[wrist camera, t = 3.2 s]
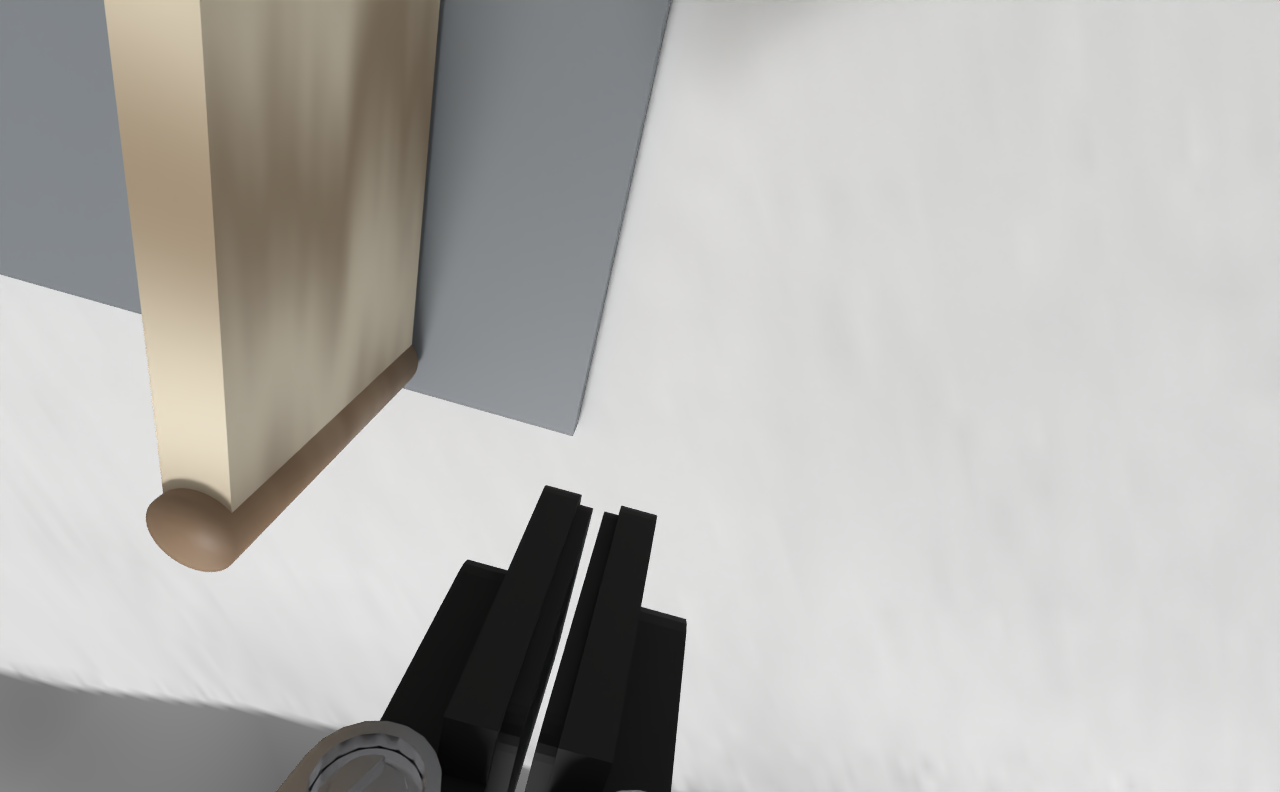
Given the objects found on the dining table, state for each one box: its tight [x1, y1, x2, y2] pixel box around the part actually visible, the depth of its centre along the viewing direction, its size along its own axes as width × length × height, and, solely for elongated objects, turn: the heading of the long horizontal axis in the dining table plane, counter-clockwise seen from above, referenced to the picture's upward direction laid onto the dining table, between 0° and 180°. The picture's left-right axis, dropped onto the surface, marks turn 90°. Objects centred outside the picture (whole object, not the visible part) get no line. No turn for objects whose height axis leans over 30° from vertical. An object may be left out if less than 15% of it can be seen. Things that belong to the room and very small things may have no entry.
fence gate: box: [104, 0, 440, 572], centre depth 13 cm, size 12×2×7 cm, turn 167°
